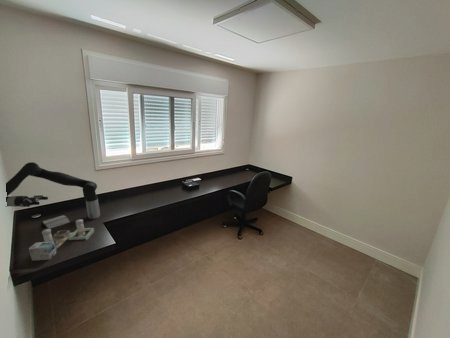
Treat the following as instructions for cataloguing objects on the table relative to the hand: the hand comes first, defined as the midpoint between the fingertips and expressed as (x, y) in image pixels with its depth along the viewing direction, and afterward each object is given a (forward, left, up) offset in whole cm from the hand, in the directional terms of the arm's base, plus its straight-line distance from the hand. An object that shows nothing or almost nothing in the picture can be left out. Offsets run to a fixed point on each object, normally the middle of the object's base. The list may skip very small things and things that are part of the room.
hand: (43, 200), depth 144 cm
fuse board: (+10, +9, -30) cm, 33 cm away
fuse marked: (+3, +23, -29) cm, 37 cm away
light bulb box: (+26, +12, -30) cm, 42 cm away
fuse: (+16, +9, -28) cm, 34 cm away
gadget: (-18, -7, -31) cm, 36 cm away
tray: (+3, +23, -30) cm, 38 cm away
